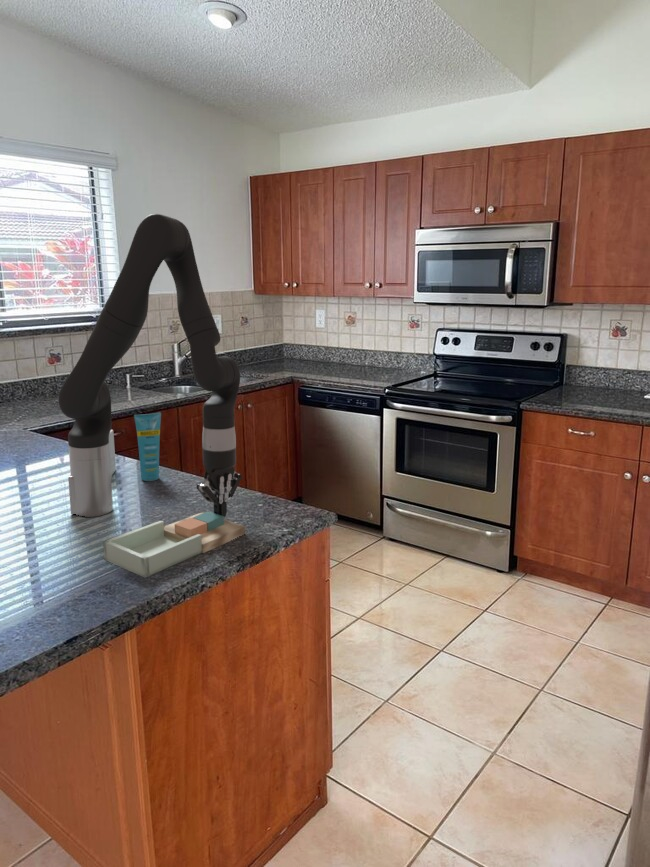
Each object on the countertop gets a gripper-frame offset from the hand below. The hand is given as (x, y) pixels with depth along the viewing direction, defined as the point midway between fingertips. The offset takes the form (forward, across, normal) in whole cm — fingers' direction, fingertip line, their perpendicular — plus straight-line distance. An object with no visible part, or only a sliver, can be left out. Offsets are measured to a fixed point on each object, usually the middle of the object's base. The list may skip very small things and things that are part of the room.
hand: (220, 516), depth 150 cm
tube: (+3, +14, +41) cm, 43 cm away
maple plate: (+3, -6, 0) cm, 6 cm away
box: (+3, -20, 0) cm, 20 cm away
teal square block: (+1, -4, 0) cm, 4 cm away
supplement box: (+3, +7, +56) cm, 56 cm away
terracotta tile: (+1, -9, 0) cm, 9 cm away
